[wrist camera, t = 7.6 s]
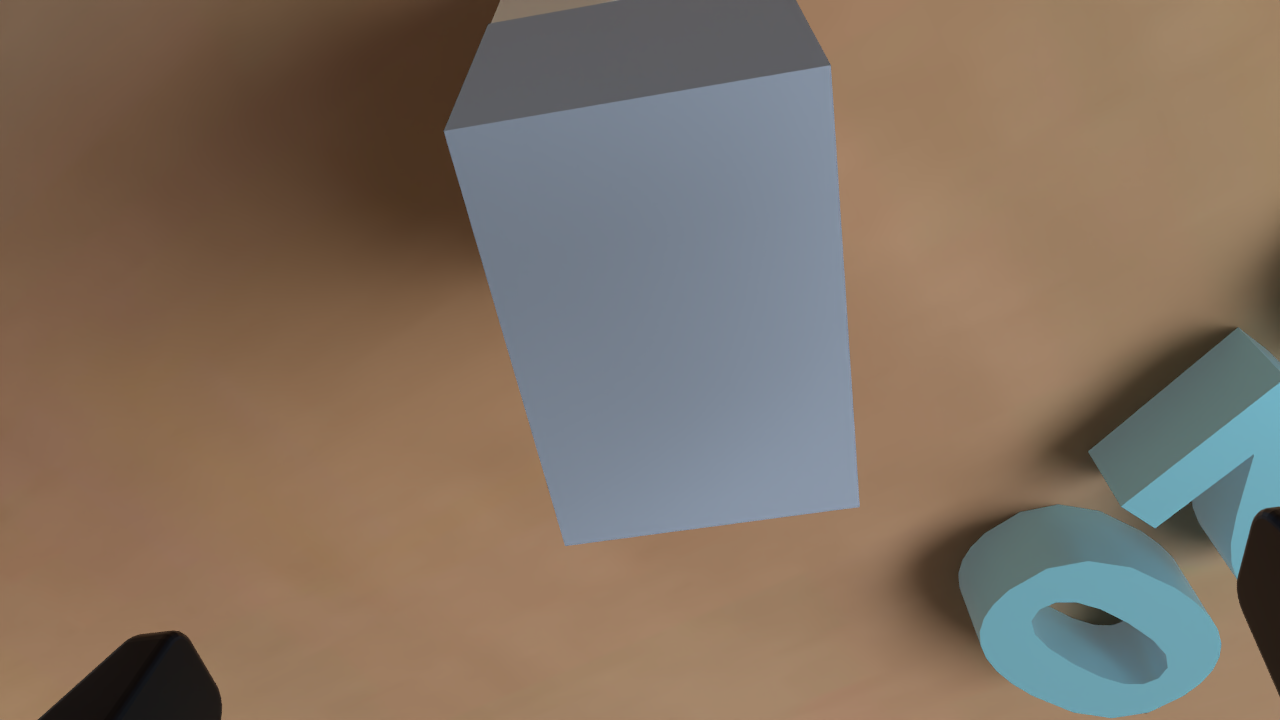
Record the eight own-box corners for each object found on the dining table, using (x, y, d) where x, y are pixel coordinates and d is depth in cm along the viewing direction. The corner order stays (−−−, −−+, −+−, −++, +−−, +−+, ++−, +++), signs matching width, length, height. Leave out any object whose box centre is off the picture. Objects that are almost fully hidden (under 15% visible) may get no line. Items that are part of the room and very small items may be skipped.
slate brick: (488, 24, 14) (444, 131, 10) (780, -29, 13) (830, 64, 10) (577, 378, 17) (565, 546, 14) (813, 343, 17) (859, 506, 13)
